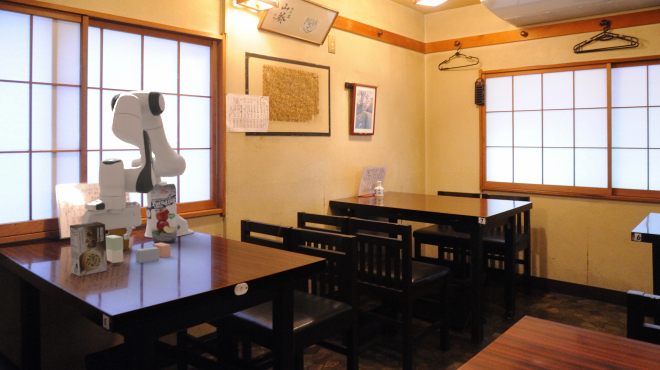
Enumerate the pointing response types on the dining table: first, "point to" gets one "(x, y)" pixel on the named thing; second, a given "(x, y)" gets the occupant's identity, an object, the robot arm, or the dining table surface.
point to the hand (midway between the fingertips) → (114, 241)
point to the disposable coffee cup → (121, 233)
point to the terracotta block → (163, 249)
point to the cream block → (114, 255)
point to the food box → (88, 248)
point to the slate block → (147, 254)
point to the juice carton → (164, 213)
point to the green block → (114, 242)
